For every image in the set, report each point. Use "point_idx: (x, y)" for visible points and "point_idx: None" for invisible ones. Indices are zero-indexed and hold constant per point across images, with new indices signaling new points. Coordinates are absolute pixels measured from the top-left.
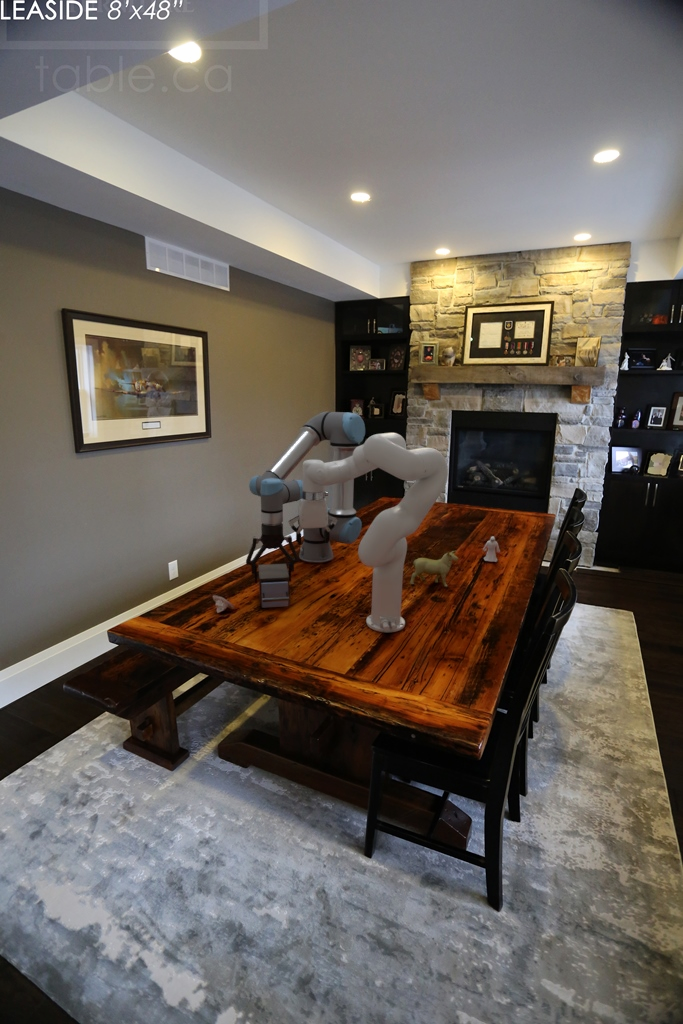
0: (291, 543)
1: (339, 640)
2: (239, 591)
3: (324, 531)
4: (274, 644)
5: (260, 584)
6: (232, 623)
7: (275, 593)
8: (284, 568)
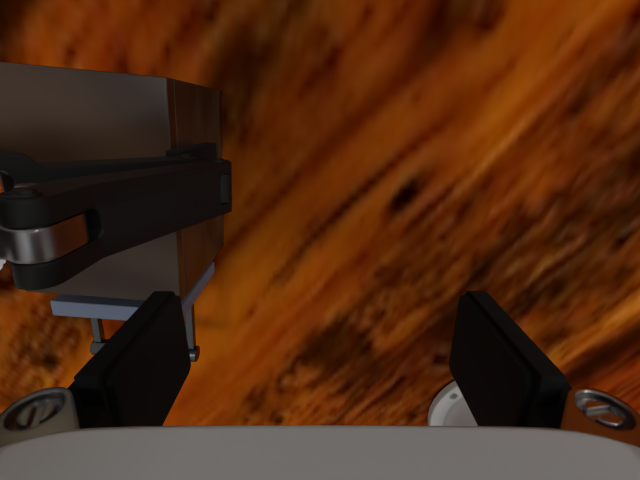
0: (97, 256)
1: None
2: (3, 49)
3: (518, 384)
4: None
5: None
6: (41, 325)
7: None
8: None
